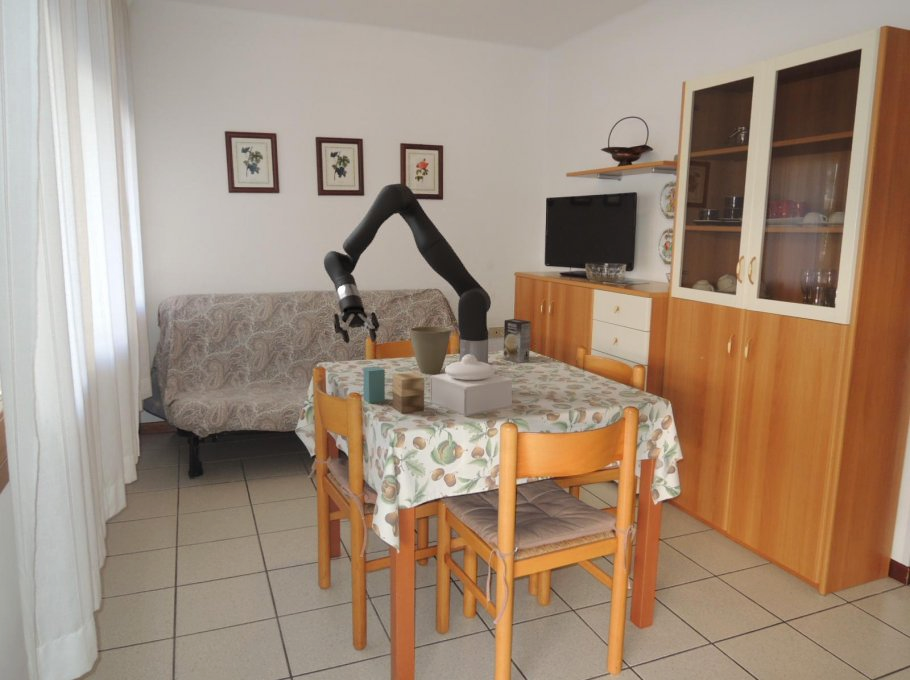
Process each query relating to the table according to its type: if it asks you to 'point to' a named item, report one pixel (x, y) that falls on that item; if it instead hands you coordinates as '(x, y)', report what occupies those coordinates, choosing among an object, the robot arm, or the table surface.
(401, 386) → the oak block
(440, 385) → the butter dish
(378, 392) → the teal pillar
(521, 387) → the table surface
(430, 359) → the plant pot
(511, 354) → the coffee box
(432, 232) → the robot arm
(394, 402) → the walnut block
